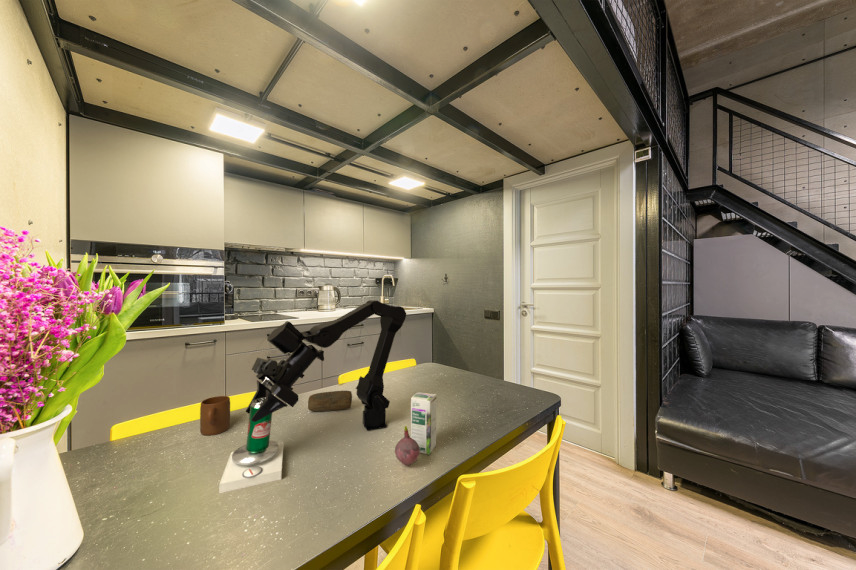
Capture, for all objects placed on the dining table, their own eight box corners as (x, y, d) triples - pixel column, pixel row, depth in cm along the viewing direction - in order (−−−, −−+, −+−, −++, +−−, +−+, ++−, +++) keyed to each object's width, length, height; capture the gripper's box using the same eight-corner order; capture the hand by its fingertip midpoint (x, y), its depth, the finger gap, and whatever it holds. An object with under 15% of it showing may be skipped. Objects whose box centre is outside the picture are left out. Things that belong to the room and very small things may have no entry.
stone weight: (351, 404, 115) (352, 386, 115) (352, 411, 109) (352, 393, 109) (309, 408, 112) (310, 389, 112) (307, 416, 105) (307, 396, 105)
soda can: (250, 456, 72) (255, 405, 72) (242, 448, 75) (247, 399, 76) (272, 449, 76) (277, 401, 76) (263, 441, 79) (268, 395, 80)
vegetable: (396, 458, 79) (396, 419, 79) (420, 459, 79) (420, 420, 79) (393, 472, 73) (393, 430, 73) (418, 473, 72) (419, 431, 73)
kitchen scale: (283, 449, 83) (283, 440, 83) (281, 479, 70) (281, 469, 70) (231, 459, 78) (231, 450, 78) (219, 494, 65) (219, 482, 65)
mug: (225, 439, 88) (225, 407, 88) (193, 445, 85) (193, 411, 85) (231, 423, 99) (232, 394, 99) (203, 427, 96) (203, 397, 96)
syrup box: (409, 451, 82) (410, 397, 82) (418, 441, 88) (418, 390, 88) (429, 455, 80) (429, 400, 80) (436, 444, 86) (437, 393, 86)
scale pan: (279, 443, 82) (279, 437, 82) (277, 463, 73) (277, 456, 73) (235, 451, 78) (235, 444, 78) (228, 473, 69) (228, 465, 69)
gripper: (264, 340, 85) (217, 388, 78) (284, 351, 71) (228, 411, 64) (294, 364, 90) (251, 411, 83) (317, 378, 76) (269, 436, 69)
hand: (249, 416), depth 75 cm, fingers open, 6 cm apart
